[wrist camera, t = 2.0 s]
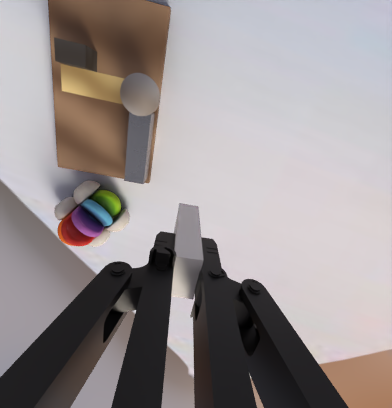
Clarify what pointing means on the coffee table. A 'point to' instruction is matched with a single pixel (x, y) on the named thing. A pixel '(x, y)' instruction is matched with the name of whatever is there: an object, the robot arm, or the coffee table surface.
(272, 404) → the robot arm
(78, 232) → the multicolored petal toy
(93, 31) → the board
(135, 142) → the bar
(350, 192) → the coffee table surface
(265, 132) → the coffee table surface
